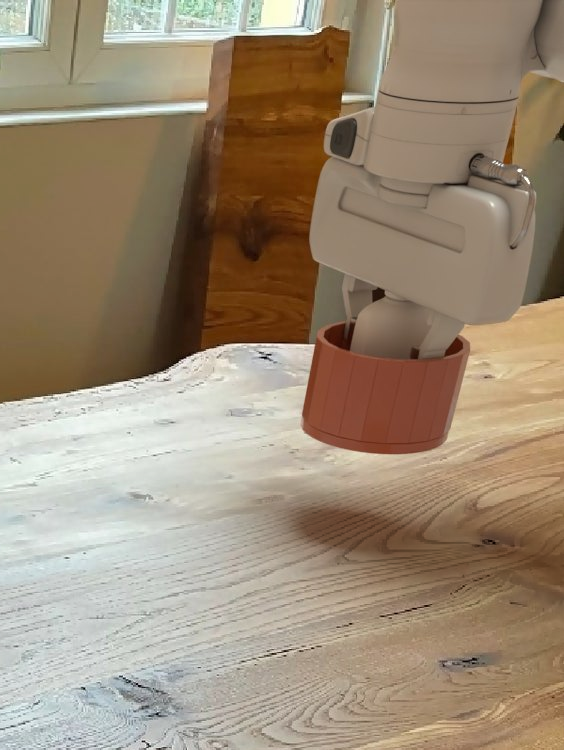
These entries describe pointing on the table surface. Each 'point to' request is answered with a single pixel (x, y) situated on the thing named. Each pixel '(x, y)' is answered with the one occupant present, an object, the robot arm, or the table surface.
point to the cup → (380, 397)
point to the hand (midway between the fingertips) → (389, 357)
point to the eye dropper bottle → (390, 328)
